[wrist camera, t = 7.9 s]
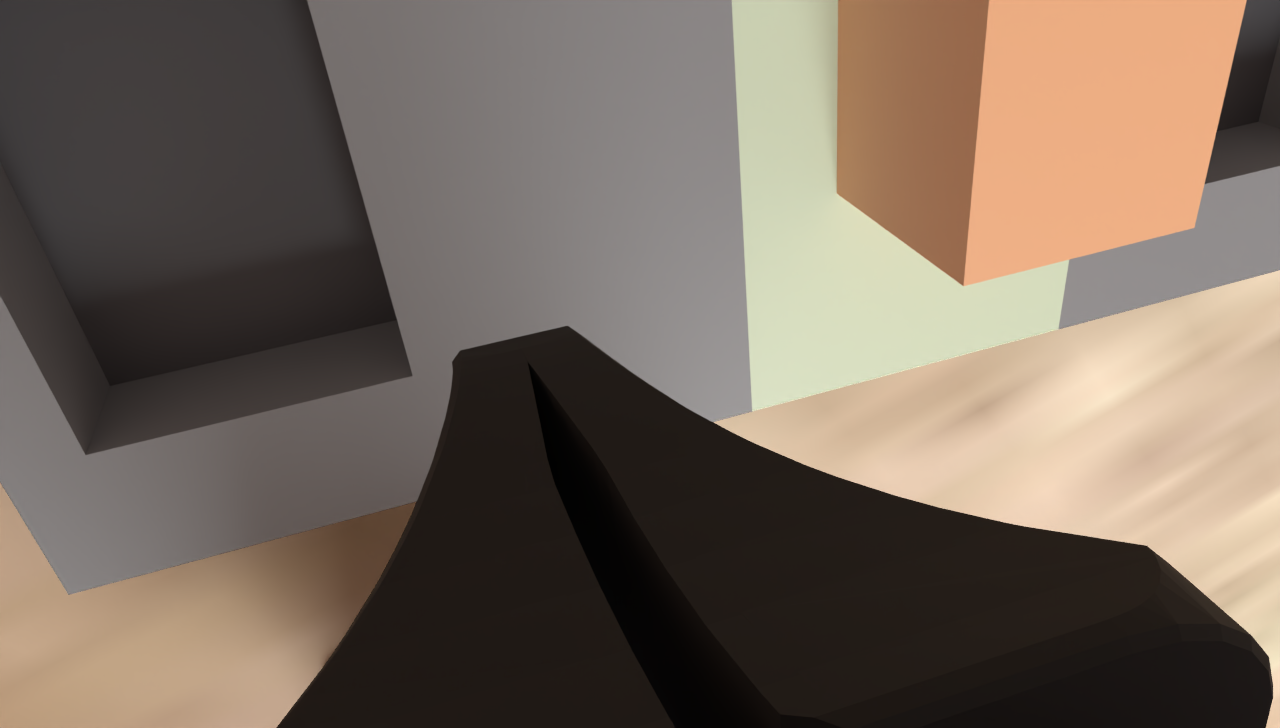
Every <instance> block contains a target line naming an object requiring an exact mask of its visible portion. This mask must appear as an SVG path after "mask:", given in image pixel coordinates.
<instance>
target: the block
mask: <svg viewBox="0 0 1280 728" xmlns="http://www.w3.org/2000/svg"><path fill="white" fill-rule="evenodd" d="M1246 1H1247V0H838V86H837V194H838V195H839V196H841V197H842V198H843V199H845V200H846V201H848V202H849V203H850V204H852V205H853V206H854V207H856V208H857V209H858V210H860V211H861V212H863V213H864V214H865V215H867V216H868V217H869V218H871V219H872V220H874V221H875V222H876V223H878V224H879V225H880V226H882V227H883V228H884V229H886V230H887V231H889V232H890V233H891V234H893V235H894V236H895V237H897V238H898V239H899V240H901V241H902V242H904V243H905V244H906V245H908V246H909V247H910V248H912V249H913V250H915V251H916V252H917V253H919V254H920V255H921V256H923V257H924V258H925V259H927V260H928V261H930V262H931V263H932V264H934V265H935V266H936V267H938V268H939V269H940V270H942V271H943V272H945V273H946V274H947V275H949V276H950V277H951V278H953V279H954V280H955V281H957V282H958V283H960V284H961V285H962V286H967V285H971V284H975V283H979V282H983V281H987V280H990V279H994V278H998V277H1002V276H1006V275H1010V274H1014V273H1018V272H1022V271H1026V270H1030V269H1034V268H1038V267H1042V266H1046V265H1050V264H1054V263H1058V262H1062V261H1066V260H1070V259H1073V258H1077V257H1081V256H1085V255H1089V254H1093V253H1097V252H1101V251H1105V250H1109V249H1113V248H1117V247H1121V246H1125V245H1129V244H1133V243H1137V242H1141V241H1145V240H1149V239H1153V238H1156V237H1160V236H1164V235H1168V234H1172V233H1176V232H1180V231H1184V230H1188V229H1192V228H1194V227H1195V223H1196V219H1197V214H1198V210H1199V206H1200V201H1201V197H1202V193H1203V188H1204V184H1205V180H1206V175H1207V171H1208V167H1209V162H1210V158H1211V153H1212V149H1213V145H1214V140H1215V136H1216V132H1217V127H1218V123H1219V119H1220V114H1221V110H1222V106H1223V101H1224V97H1225V93H1226V88H1227V84H1228V80H1229V75H1230V71H1231V67H1232V62H1233V58H1234V53H1235V49H1236V45H1237V40H1238V36H1239V32H1240V27H1241V23H1242V19H1243V14H1244V10H1245V6H1246Z"/></svg>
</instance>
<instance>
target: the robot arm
mask: <svg viewBox="0 0 1280 728" xmlns="http://www.w3.org/2000/svg"><path fill="white" fill-rule="evenodd" d="M452 367H453V375H452V386H451V392H450V398H449V403H448V407H447V412H446V416H445V420H444V424H443V427H442V431H441V434H440V437H439V441H438V444H437V448H436V451H435V455H434V458H433V461H432V464H431V467H430V469H429V472H428V474H427V477H426V479H425V482H424V484H423V487H422V490H421V492H420V495H419V497H418V500H417V502H416V505H415V507H414V510H413V512H412V515H411V517H410V519H409V521H408V524H407V526H406V528H405V530H404V532H403V534H402V537H401V539H400V541H399V543H398V545H397V547H396V549H395V551H394V553H393V555H392V556H391V558H390V560H389V562H388V564H387V566H386V568H385V569H384V571H383V573H382V575H381V577H380V579H379V581H378V582H377V584H376V586H375V588H374V589H373V591H372V592H371V594H370V596H369V597H368V599H367V601H366V602H365V604H364V605H363V607H362V609H361V610H360V612H359V614H358V615H357V617H356V618H355V620H354V622H353V623H352V625H351V627H350V628H349V630H348V631H347V633H346V635H345V636H344V638H343V639H342V641H341V642H340V643H339V645H338V646H337V648H336V649H335V651H334V652H333V654H332V655H331V657H330V658H329V660H328V661H327V662H326V664H325V665H324V667H323V668H322V669H321V671H320V672H319V673H318V675H317V676H316V677H315V678H314V680H313V681H312V682H311V684H310V685H309V686H308V688H307V689H306V690H305V691H304V693H303V694H302V695H301V697H300V698H299V699H298V700H297V702H296V703H295V704H294V706H293V707H292V708H291V710H290V711H289V712H288V713H287V715H286V716H285V717H284V719H283V720H282V721H281V723H280V724H279V725H278V726H277V728H1266V724H1267V720H1268V716H1269V712H1270V707H1271V703H1272V699H1273V682H1272V676H1271V669H1270V662H1269V657H1268V655H1267V654H1266V653H1265V652H1264V650H1263V649H1262V648H1261V647H1260V646H1259V644H1258V643H1257V642H1256V641H1255V639H1254V638H1253V637H1252V636H1251V635H1250V634H1249V633H1248V632H1247V631H1246V630H1244V629H1243V628H1242V627H1241V626H1240V625H1239V624H1238V623H1236V622H1235V621H1234V620H1233V619H1232V618H1231V617H1230V616H1228V615H1227V614H1226V613H1225V612H1224V611H1223V610H1222V609H1220V608H1219V607H1218V606H1217V605H1216V604H1215V603H1214V602H1212V601H1211V600H1210V599H1209V598H1208V597H1207V596H1206V595H1204V594H1203V593H1202V592H1201V591H1200V590H1199V589H1198V588H1196V587H1195V586H1194V585H1193V584H1192V583H1191V582H1190V581H1188V580H1187V579H1186V578H1185V577H1184V576H1183V575H1181V574H1180V573H1179V572H1178V571H1177V570H1176V569H1174V568H1173V567H1172V566H1171V565H1170V564H1169V563H1168V562H1166V561H1165V560H1164V559H1163V558H1161V557H1160V556H1159V555H1157V554H1156V553H1155V552H1154V551H1152V550H1151V549H1150V548H1149V547H1147V546H1144V545H1138V544H1131V543H1125V542H1119V541H1112V540H1106V539H1100V538H1093V537H1087V536H1081V535H1074V534H1068V533H1062V532H1055V531H1049V530H1043V529H1036V528H1030V527H1024V526H1018V525H1013V524H1008V523H1003V522H999V521H995V520H990V519H986V518H982V517H977V516H973V515H968V514H964V513H960V512H955V511H951V510H947V509H942V508H938V507H935V506H931V505H927V504H923V503H920V502H916V501H912V500H909V499H905V498H901V497H898V496H894V495H891V494H888V493H885V492H882V491H879V490H876V489H872V488H869V487H866V486H863V485H860V484H857V483H854V482H851V481H848V480H845V479H842V478H838V477H836V476H833V475H830V474H827V473H825V472H822V471H819V470H817V469H814V468H811V467H809V466H806V465H803V464H801V463H799V462H796V461H794V460H792V459H789V458H787V457H785V456H782V455H780V454H778V453H775V452H773V451H771V450H768V449H766V448H764V447H761V446H759V445H757V444H754V443H752V442H750V441H748V440H746V439H744V438H742V437H740V436H738V435H736V434H734V433H732V432H730V431H728V430H726V429H724V428H722V427H721V426H719V425H717V424H715V423H713V422H711V421H709V420H708V419H706V418H704V417H702V416H700V415H698V414H697V413H695V412H693V411H691V410H689V409H688V408H686V407H684V406H683V405H681V404H679V403H678V402H676V401H675V400H673V399H672V398H670V397H669V396H667V395H665V394H664V393H662V392H661V391H659V390H658V389H656V388H655V387H653V386H652V385H650V384H648V383H647V382H645V381H644V380H642V379H641V378H640V377H638V376H637V375H635V374H634V373H632V372H631V371H629V370H628V369H627V368H625V367H624V366H622V365H621V364H620V363H618V362H617V361H616V360H614V359H613V358H611V357H610V356H609V355H607V354H606V353H605V352H603V351H602V350H601V349H599V348H598V347H597V346H595V345H594V344H593V343H591V342H590V341H589V340H587V339H586V338H585V337H583V336H582V335H581V334H579V333H578V332H576V331H575V330H573V329H572V328H570V327H569V326H564V327H559V328H555V329H551V330H546V331H542V332H538V333H533V334H529V335H525V336H520V337H516V338H512V339H507V340H503V341H499V342H494V343H490V344H486V345H482V346H477V347H473V348H469V349H464V350H460V351H459V353H458V354H457V355H456V357H455V358H454V360H453V361H452Z"/></svg>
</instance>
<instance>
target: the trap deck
mask: <svg viewBox="0 0 1280 728" xmlns="http://www.w3.org/2000/svg"><path fill="white" fill-rule="evenodd" d="M837 86H838V0H0V483H1V484H2V486H3V488H4V489H5V491H6V493H7V494H8V496H9V498H10V499H11V501H12V502H13V504H14V506H15V507H16V509H17V511H18V512H19V514H20V516H21V517H22V519H23V521H24V522H25V524H26V526H27V527H28V529H29V530H30V532H31V534H32V535H33V537H34V539H35V540H36V542H37V544H38V545H39V547H40V549H41V550H42V552H43V553H44V555H45V557H46V558H47V560H48V562H49V563H50V565H51V567H52V568H53V570H54V572H55V573H56V575H57V576H58V578H59V580H60V581H61V583H62V585H63V586H64V588H65V590H66V591H67V593H68V595H69V594H73V593H77V592H81V591H84V590H88V589H92V588H96V587H99V586H103V585H107V584H110V583H114V582H118V581H122V580H125V579H129V578H133V577H137V576H140V575H144V574H148V573H152V572H155V571H159V570H163V569H166V568H170V567H174V566H178V565H181V564H185V563H189V562H193V561H196V560H200V559H204V558H207V557H211V556H215V555H219V554H222V553H226V552H230V551H234V550H237V549H241V548H245V547H249V546H252V545H256V544H260V543H263V542H267V541H271V540H275V539H278V538H282V537H286V536H290V535H293V534H297V533H301V532H304V531H308V530H312V529H316V528H319V527H323V526H327V525H331V524H334V523H338V522H342V521H346V520H349V519H353V518H357V517H360V516H364V515H368V514H372V513H375V512H379V511H383V510H387V509H390V508H394V507H398V506H401V505H405V504H409V503H413V502H416V501H417V500H418V497H419V495H420V492H421V490H422V487H423V484H424V482H425V479H426V477H427V474H428V472H429V469H430V467H431V464H432V461H433V458H434V455H435V451H436V448H437V444H438V441H439V437H440V434H441V431H442V427H443V424H444V420H445V416H446V412H447V407H448V403H449V398H450V392H451V386H452V375H453V367H452V361H453V360H454V358H455V357H456V355H457V354H458V353H459V351H460V350H464V349H469V348H473V347H477V346H482V345H486V344H490V343H494V342H499V341H503V340H507V339H512V338H516V337H520V336H525V335H529V334H533V333H538V332H542V331H546V330H551V329H555V328H559V327H564V326H569V327H570V328H572V329H573V330H575V331H576V332H578V333H579V334H581V335H582V336H583V337H585V338H586V339H587V340H589V341H590V342H591V343H593V344H594V345H595V346H597V347H598V348H599V349H601V350H602V351H603V352H605V353H606V354H607V355H609V356H610V357H611V358H613V359H614V360H616V361H617V362H618V363H620V364H621V365H622V366H624V367H625V368H627V369H628V370H629V371H631V372H632V373H634V374H635V375H637V376H638V377H640V378H641V379H642V380H644V381H645V382H647V383H648V384H650V385H652V386H653V387H655V388H656V389H658V390H659V391H661V392H662V393H664V394H665V395H667V396H669V397H670V398H672V399H673V400H675V401H676V402H678V403H679V404H681V405H683V406H684V407H686V408H688V409H689V410H691V411H693V412H695V413H697V414H698V415H700V416H702V417H704V418H706V419H708V420H709V421H711V422H715V421H719V420H722V419H726V418H730V417H734V416H737V415H741V414H745V413H748V412H752V411H756V410H760V409H763V408H767V407H771V406H775V405H778V404H782V403H786V402H790V401H793V400H797V399H801V398H804V397H808V396H812V395H816V394H819V393H823V392H827V391H831V390H834V389H838V388H842V387H845V386H849V385H853V384H857V383H860V382H864V381H868V380H872V379H875V378H879V377H883V376H887V375H890V374H894V373H898V372H901V371H905V370H909V369H913V368H916V367H920V366H924V365H928V364H931V363H935V362H939V361H942V360H946V359H950V358H954V357H957V356H961V355H965V354H969V353H972V352H976V351H980V350H984V349H987V348H991V347H995V346H998V345H1002V344H1006V343H1010V342H1013V341H1017V340H1021V339H1025V338H1028V337H1032V336H1036V335H1039V334H1043V333H1047V332H1051V331H1054V330H1058V329H1062V328H1066V327H1069V326H1073V325H1077V324H1081V323H1084V322H1088V321H1092V320H1095V319H1099V318H1103V317H1107V316H1110V315H1114V314H1118V313H1122V312H1125V311H1129V310H1133V309H1137V308H1140V307H1144V306H1148V305H1151V304H1155V303H1159V302H1163V301H1166V300H1170V299H1174V298H1178V297H1181V296H1185V295H1189V294H1192V293H1196V292H1200V291H1204V290H1207V289H1211V288H1215V287H1219V286H1222V285H1226V284H1230V283H1234V282H1237V281H1241V280H1245V279H1248V278H1252V277H1256V276H1260V275H1263V274H1267V273H1271V272H1275V271H1278V270H1280V0H1247V1H1246V6H1245V10H1244V14H1243V19H1242V23H1241V27H1240V32H1239V36H1238V40H1237V45H1236V49H1235V53H1234V58H1233V62H1232V67H1231V71H1230V75H1229V80H1228V84H1227V88H1226V93H1225V97H1224V101H1223V106H1222V110H1221V114H1220V119H1219V123H1218V127H1217V132H1216V136H1215V140H1214V145H1213V149H1212V153H1211V158H1210V162H1209V167H1208V171H1207V175H1206V180H1205V184H1204V188H1203V193H1202V197H1201V201H1200V206H1199V210H1198V214H1197V219H1196V223H1195V227H1194V228H1192V229H1188V230H1184V231H1180V232H1176V233H1172V234H1168V235H1164V236H1160V237H1156V238H1153V239H1149V240H1145V241H1141V242H1137V243H1133V244H1129V245H1125V246H1121V247H1117V248H1113V249H1109V250H1105V251H1101V252H1097V253H1093V254H1089V255H1085V256H1081V257H1077V258H1073V259H1070V260H1066V261H1062V262H1058V263H1054V264H1050V265H1046V266H1042V267H1038V268H1034V269H1030V270H1026V271H1022V272H1018V273H1014V274H1010V275H1006V276H1002V277H998V278H994V279H990V280H987V281H983V282H979V283H975V284H971V285H967V286H962V285H961V284H960V283H958V282H957V281H955V280H954V279H953V278H951V277H950V276H949V275H947V274H946V273H945V272H943V271H942V270H940V269H939V268H938V267H936V266H935V265H934V264H932V263H931V262H930V261H928V260H927V259H925V258H924V257H923V256H921V255H920V254H919V253H917V252H916V251H915V250H913V249H912V248H910V247H909V246H908V245H906V244H905V243H904V242H902V241H901V240H899V239H898V238H897V237H895V236H894V235H893V234H891V233H890V232H889V231H887V230H886V229H884V228H883V227H882V226H880V225H879V224H878V223H876V222H875V221H874V220H872V219H871V218H869V217H868V216H867V215H865V214H864V213H863V212H861V211H860V210H858V209H857V208H856V207H854V206H853V205H852V204H850V203H849V202H848V201H846V200H845V199H843V198H842V197H841V196H839V195H838V194H837Z"/></svg>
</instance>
